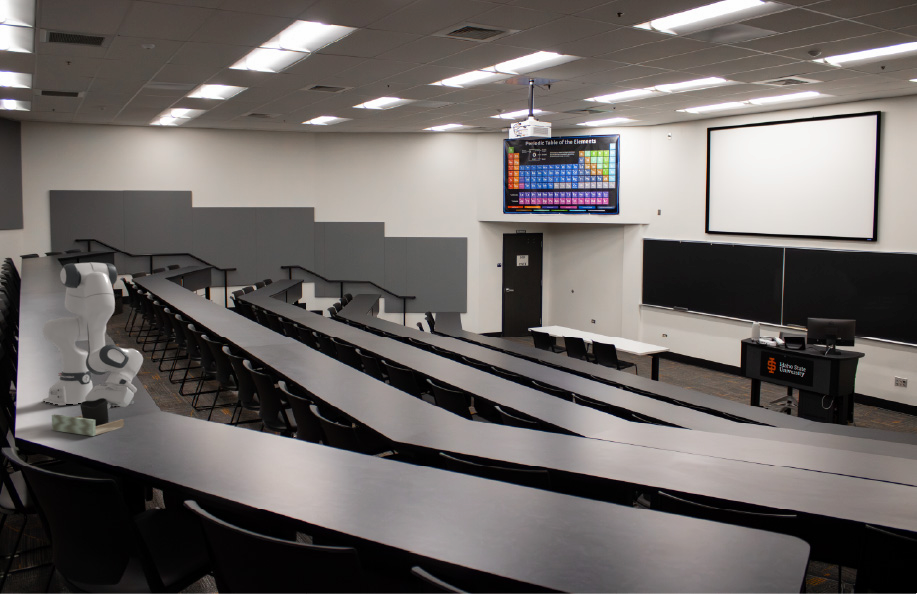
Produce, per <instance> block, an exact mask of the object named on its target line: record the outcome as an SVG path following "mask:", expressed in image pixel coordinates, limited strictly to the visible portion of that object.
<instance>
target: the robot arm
mask: <svg viewBox="0 0 917 594" xmlns="http://www.w3.org/2000/svg"><path fill="white" fill-rule="evenodd" d="M59 276H60V282H61V283H62V285H63V287H66V289H65V297H64V298H65V299H64V308H65V309H66V310H67V311H69V312H70V313H71V314H74V315H76V316H75V317H74V316H73V317H58V318H54V319H50V320H49V319H48V320H47V321H46V322H45V323H44V324H43V326H42V327H43V328H42V335H43V337H44V338H45V340H47V341H48V342H50V343H51V344H53V345H54V346H55V347H56V348H57V350H58V352H59V354H60V358H61V367H62V371H61V372H58V377H59V376H60V377H59V379H58V381H56V382H55V383H54V384H53V385H52V386H50V388H49V390H48V397H46V398H43V399H42V402H43V401H45V402H44V403H46V402H50V403H53V404H52V405H55V404H58V405H57V406H67V405H66V404H73V405H79V404H78V403H82V402H84V401H95V400H97V399H100V398H105V399H106V400H107V408H108V410H109V409H110V408H112V407H114V406H120V407H121V408H122V407H123V408H126V407H128V406H129V405H130V404H129V403H130V402H131V400H133V399H134V396H135V394H136V393H137V391H138V389H137V387H136V386H135V385H134V384H132V381H133V379H134V378H135V377H136V375H137V374H139V373H138V372H139V371H140V369H141V367H142V365H143V362H144V357H143V354H142V353H141V352H140V351H139V350H137V349H135V348H122V347H119V346H117V345H114V344H106V335H105V334H106V332H107V323H108V321H109V320H110V319H111V317H112V315H113V314H114V313H115V308H116V307H115V306H116V302H115V293H114V290H113V286H114V285H115V284H116V282H117V281H118V270H117V268H116V266H115V265H114V264H112V263H109V262H92V261H91V262H79V263H78V262H77V263H73V262H72V263H67V264H64V265H63V266H62V267H61V270H60V274H59ZM85 341H87V342H88V343H87V345H88V351H87V350H85V349H83V348H80V347H77V345H76V342H85ZM109 372H110V374H109V375H108V377H107V378H106V380H105V382H104V383H98V384H97V385H93V381H92V379H91V378H92V374H93V375H96V376H102V375H106V374H107V373H109ZM50 403H49V404H50Z"/></svg>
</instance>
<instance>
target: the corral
mask: <svg viewBox="0 0 917 594" xmlns="http://www.w3.org/2000/svg"><path fill="white" fill-rule="evenodd" d="M124 427H125V419H122V418H121V419H118V420H113V421H109V423H106V424H103V425H99V426H95V420H93V419H86V418H83V417H82V414H81V415H76V416H69V415H63V414H61V415H60V414H52V415H51V431H56V432H64V433H71V434H78V435H82V436H91V437H95V436H97V435H101V434H105V433H108V432H111V431H114V430H118V429H121V428H124Z"/></svg>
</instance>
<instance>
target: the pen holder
mask: <svg viewBox="0 0 917 594" xmlns="http://www.w3.org/2000/svg"><path fill="white" fill-rule="evenodd" d="M79 406H80V411H81V415H82V417H83V418H86V419H93V420H95V426H99V425H103V424H106V423H110V420H109V419H110V417H109V412H108V411H109V409H108V408H107V400H106V399H105V398H100V399H97V400H95V401H84V402H82V403H81V404H79Z"/></svg>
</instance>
